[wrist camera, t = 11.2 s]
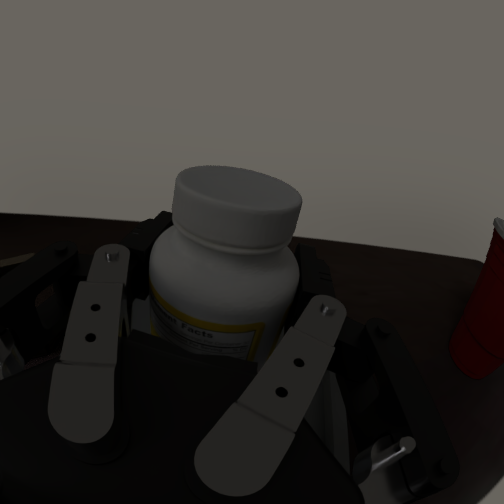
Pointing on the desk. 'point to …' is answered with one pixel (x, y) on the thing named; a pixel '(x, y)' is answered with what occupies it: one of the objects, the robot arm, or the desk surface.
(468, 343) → the plastic cup
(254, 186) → the supplement bottle
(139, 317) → the tray
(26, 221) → the desk surface
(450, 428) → the desk surface
